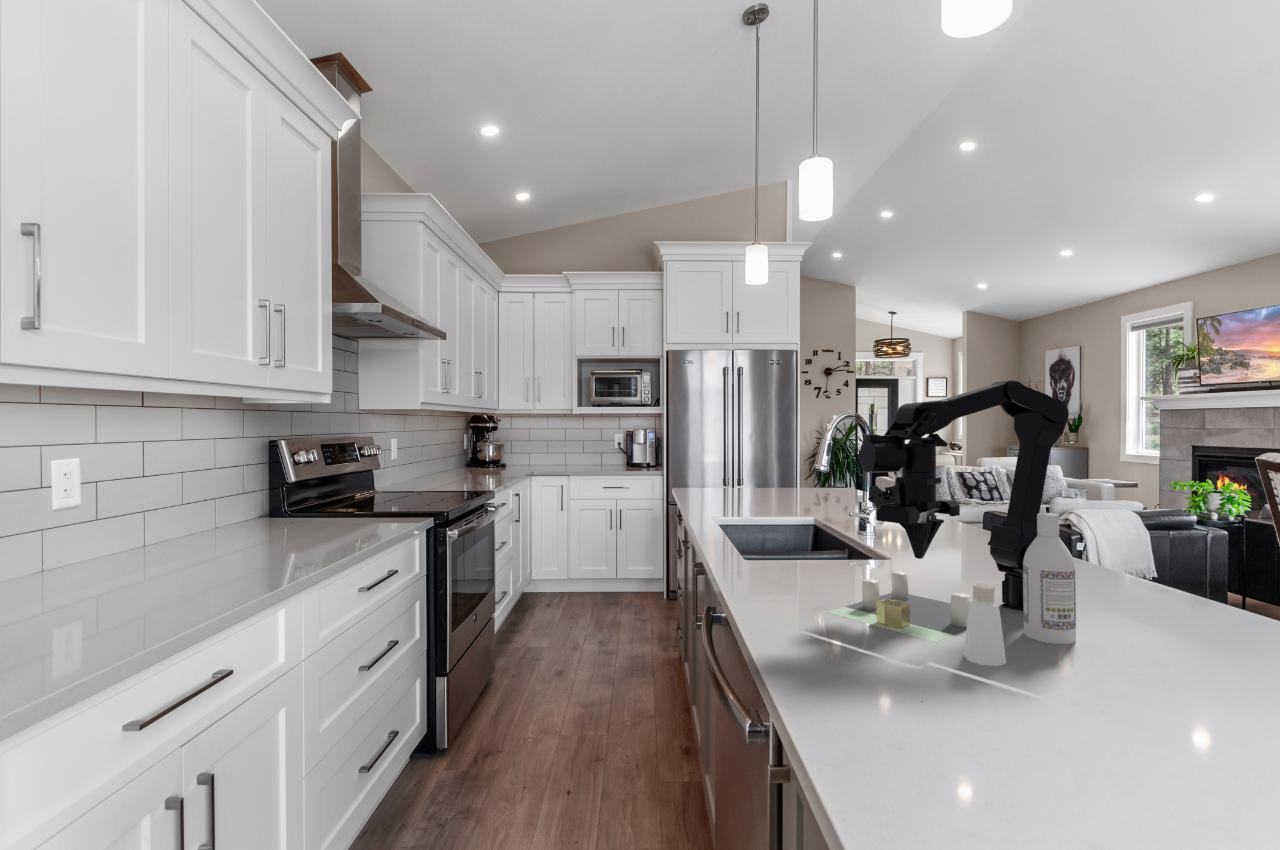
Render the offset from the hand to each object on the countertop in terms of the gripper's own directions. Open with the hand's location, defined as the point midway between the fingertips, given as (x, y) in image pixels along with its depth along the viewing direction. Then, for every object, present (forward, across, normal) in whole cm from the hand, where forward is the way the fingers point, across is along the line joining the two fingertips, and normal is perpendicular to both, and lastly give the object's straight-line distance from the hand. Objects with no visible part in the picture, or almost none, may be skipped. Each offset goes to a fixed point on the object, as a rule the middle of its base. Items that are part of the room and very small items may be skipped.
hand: (919, 558), depth 111 cm
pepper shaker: (+11, +14, +17) cm, 24 cm away
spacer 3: (+10, +1, +8) cm, 13 cm away
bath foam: (+10, -4, +19) cm, 22 cm away
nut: (+10, +9, 0) cm, 13 cm away
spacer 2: (+10, -6, -7) cm, 14 cm away
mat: (+10, +1, -1) cm, 10 cm away
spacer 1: (+10, +4, -7) cm, 13 cm away
